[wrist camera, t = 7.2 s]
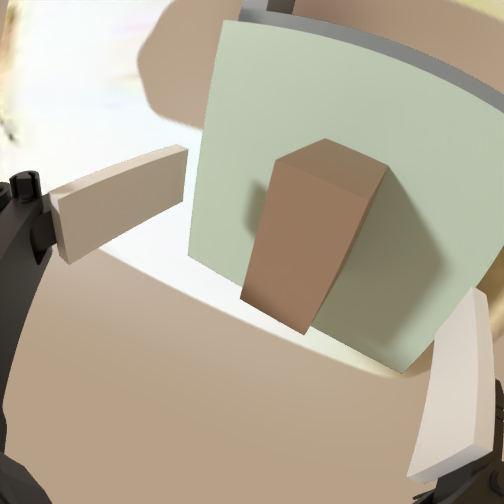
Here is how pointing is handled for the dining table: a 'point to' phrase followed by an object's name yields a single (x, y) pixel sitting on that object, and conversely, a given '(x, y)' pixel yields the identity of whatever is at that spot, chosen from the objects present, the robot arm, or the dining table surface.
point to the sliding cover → (345, 188)
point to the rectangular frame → (366, 44)
